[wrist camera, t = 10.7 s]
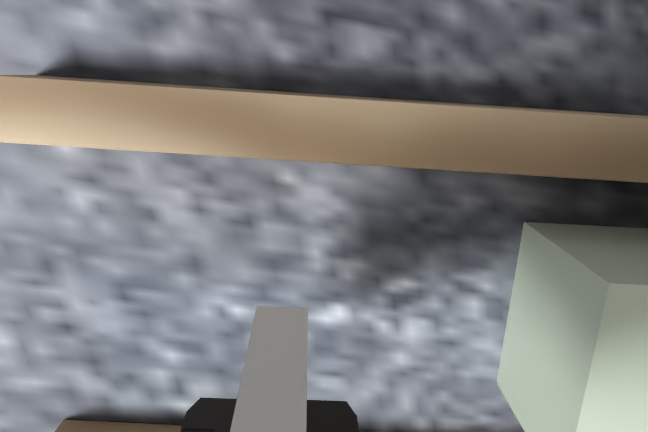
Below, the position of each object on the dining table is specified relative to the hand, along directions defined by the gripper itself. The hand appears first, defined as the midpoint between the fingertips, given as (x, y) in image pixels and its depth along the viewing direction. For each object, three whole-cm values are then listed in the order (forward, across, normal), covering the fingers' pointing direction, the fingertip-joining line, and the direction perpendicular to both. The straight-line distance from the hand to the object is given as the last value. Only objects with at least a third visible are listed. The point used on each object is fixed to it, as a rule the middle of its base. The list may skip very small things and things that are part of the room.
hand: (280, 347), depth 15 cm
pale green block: (+5, +12, -1) cm, 13 cm away
